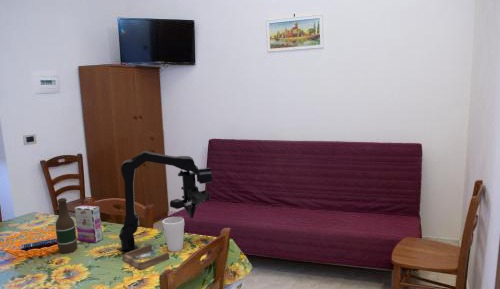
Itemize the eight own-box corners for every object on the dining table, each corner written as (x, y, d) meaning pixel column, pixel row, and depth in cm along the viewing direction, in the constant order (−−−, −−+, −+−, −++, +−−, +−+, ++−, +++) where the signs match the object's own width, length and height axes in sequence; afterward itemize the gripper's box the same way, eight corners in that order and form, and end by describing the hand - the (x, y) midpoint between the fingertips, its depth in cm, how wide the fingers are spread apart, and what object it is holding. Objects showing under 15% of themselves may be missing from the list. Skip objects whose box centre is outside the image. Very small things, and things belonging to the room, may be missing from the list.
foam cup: (181, 253, 167) (179, 224, 165) (161, 252, 169) (158, 223, 167) (189, 244, 176) (187, 216, 174) (169, 243, 178) (167, 216, 176)
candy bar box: (103, 239, 187) (99, 206, 185) (95, 243, 183) (92, 209, 180) (85, 236, 192) (81, 204, 189) (77, 240, 187) (73, 207, 184)
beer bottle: (81, 248, 178) (75, 197, 174) (67, 255, 171) (60, 202, 167) (69, 246, 181) (63, 195, 177) (54, 252, 174) (47, 200, 170)
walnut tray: (122, 260, 163) (122, 254, 163) (150, 249, 172) (149, 244, 172) (140, 270, 153) (140, 264, 153) (169, 258, 162) (168, 252, 162)
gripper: (183, 192, 163) (185, 228, 166) (216, 182, 177) (218, 216, 179) (167, 188, 171) (170, 222, 174) (201, 179, 184) (203, 211, 187)
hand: (191, 218), depth 178 cm, fingers closed
